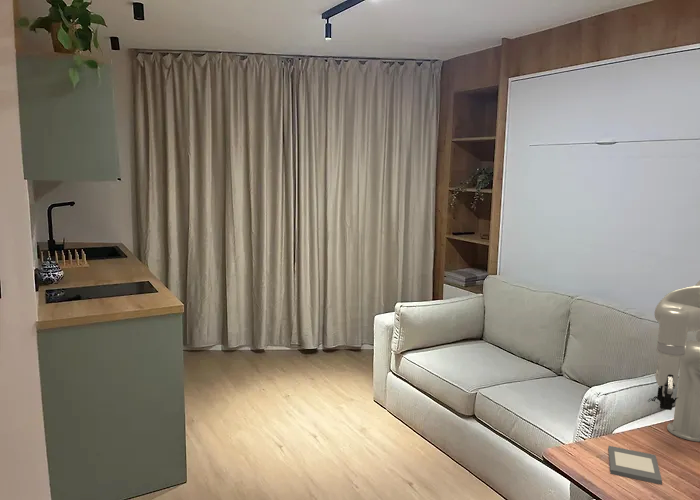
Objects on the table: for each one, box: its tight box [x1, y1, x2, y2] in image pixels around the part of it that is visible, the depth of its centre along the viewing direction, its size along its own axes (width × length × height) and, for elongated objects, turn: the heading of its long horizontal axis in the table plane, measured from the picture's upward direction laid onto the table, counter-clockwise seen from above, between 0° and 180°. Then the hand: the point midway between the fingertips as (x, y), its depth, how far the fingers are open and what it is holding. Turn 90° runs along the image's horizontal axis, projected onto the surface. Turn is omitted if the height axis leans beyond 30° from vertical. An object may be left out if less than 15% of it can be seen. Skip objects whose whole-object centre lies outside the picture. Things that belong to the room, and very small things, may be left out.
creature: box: [647, 391, 677, 411], centre depth 175 cm, size 8×5×8 cm
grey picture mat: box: [607, 445, 663, 486], centre depth 167 cm, size 16×13×1 cm
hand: (664, 404), depth 175 cm, fingers closed on creature, 6 cm apart
